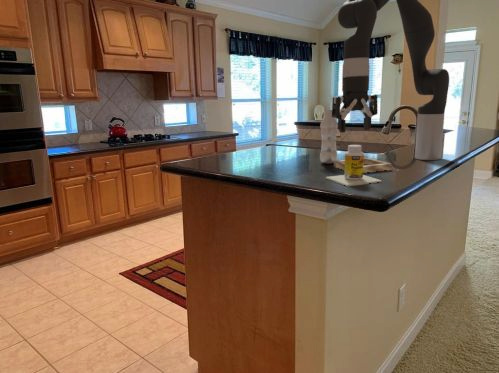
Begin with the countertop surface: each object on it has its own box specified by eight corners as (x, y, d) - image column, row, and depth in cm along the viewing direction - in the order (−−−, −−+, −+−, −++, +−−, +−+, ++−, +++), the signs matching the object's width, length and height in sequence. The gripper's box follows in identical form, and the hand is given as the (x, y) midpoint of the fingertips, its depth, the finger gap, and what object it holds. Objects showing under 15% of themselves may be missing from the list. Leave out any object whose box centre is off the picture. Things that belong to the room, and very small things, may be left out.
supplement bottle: (349, 181, 116) (350, 147, 114) (341, 177, 122) (341, 145, 119) (366, 179, 118) (367, 146, 115) (357, 176, 123) (358, 143, 120)
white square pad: (358, 174, 127) (358, 173, 127) (381, 182, 116) (381, 180, 116) (325, 178, 123) (325, 176, 123) (347, 186, 112) (347, 184, 112)
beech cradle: (366, 163, 145) (366, 157, 145) (391, 169, 132) (391, 163, 132) (333, 167, 141) (333, 161, 140) (356, 174, 128) (356, 167, 127)
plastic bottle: (340, 162, 148) (341, 109, 143) (331, 165, 143) (332, 110, 139) (326, 161, 152) (326, 109, 148) (316, 164, 148) (316, 110, 143)
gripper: (368, 74, 118) (366, 128, 122) (327, 76, 113) (327, 132, 117) (384, 73, 111) (382, 130, 115) (341, 75, 106) (340, 134, 110)
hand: (354, 131), depth 116 cm, fingers open, 8 cm apart
